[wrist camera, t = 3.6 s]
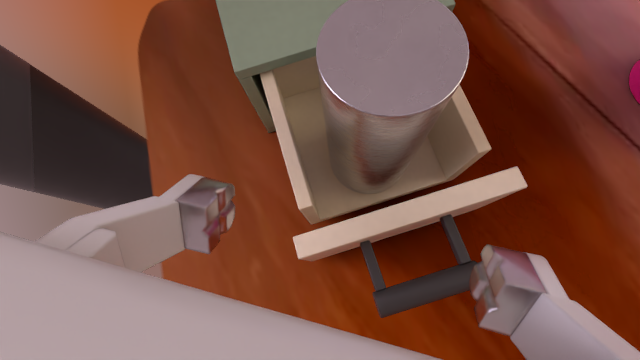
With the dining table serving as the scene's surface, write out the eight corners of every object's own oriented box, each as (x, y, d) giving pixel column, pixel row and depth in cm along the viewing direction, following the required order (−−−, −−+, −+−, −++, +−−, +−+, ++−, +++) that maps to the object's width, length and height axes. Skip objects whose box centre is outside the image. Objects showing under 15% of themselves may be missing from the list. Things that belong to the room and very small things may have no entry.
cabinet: (421, 85, 26) (456, 3, 18) (268, 133, 26) (234, 72, 18) (364, -39, 31) (372, -152, 22) (232, 2, 30) (190, -96, 22)
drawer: (501, 267, 21) (570, 267, 15) (329, 322, 21) (322, 347, 15) (406, 59, 26) (427, -10, 20) (266, 102, 26) (240, 48, 20)
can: (343, 204, 22) (342, 137, 11) (320, 135, 24) (298, 12, 12) (417, 180, 22) (496, 88, 11) (390, 113, 24) (433, -30, 12)
